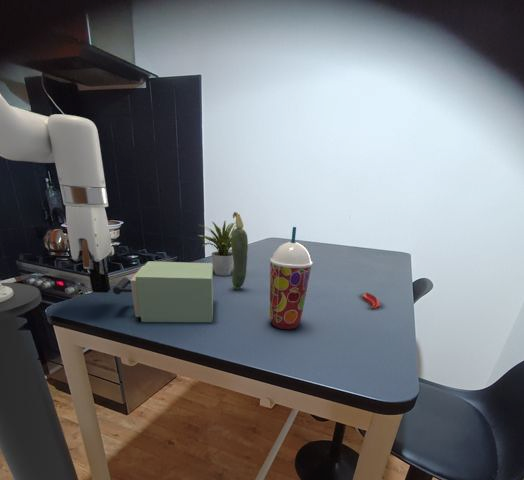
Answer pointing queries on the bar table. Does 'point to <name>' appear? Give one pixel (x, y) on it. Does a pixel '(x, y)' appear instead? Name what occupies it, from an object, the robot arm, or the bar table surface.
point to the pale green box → (175, 292)
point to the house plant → (221, 249)
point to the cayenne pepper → (371, 300)
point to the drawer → (121, 288)
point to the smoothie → (288, 283)
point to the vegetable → (239, 252)
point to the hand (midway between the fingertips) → (101, 291)
